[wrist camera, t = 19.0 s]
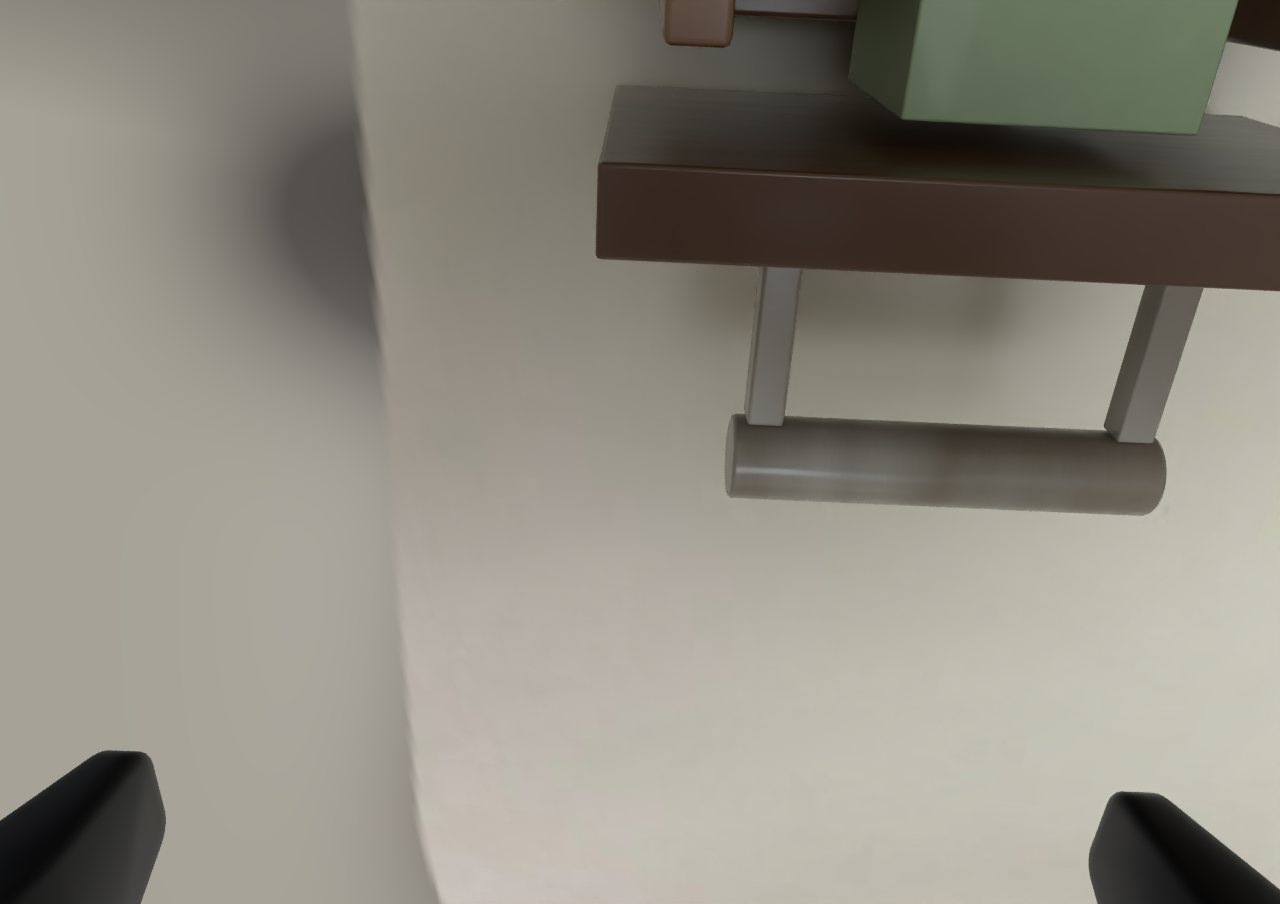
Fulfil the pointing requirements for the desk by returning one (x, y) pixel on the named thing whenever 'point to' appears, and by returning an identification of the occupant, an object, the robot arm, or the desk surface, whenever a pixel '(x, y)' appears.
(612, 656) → the desk surface
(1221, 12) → the block
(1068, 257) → the drawer
